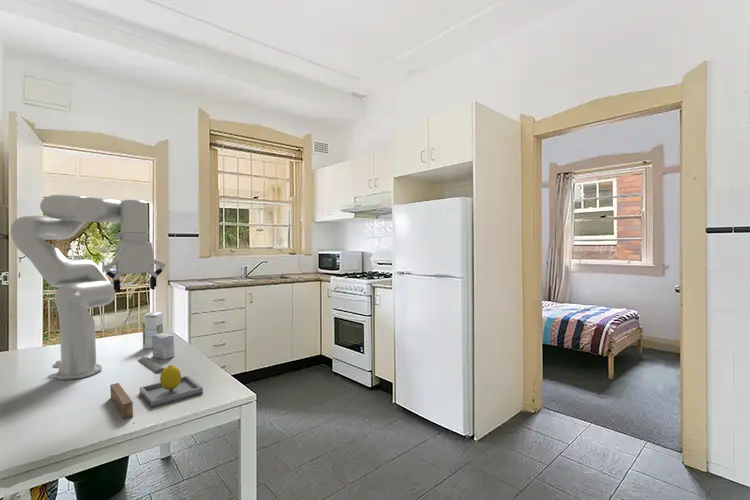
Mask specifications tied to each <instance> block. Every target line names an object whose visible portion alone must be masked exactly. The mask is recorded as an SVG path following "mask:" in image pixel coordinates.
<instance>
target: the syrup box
mask: <svg viewBox="0 0 750 500" xmlns="http://www.w3.org/2000/svg"><path fill="white" fill-rule="evenodd" d="M160 333H164V312H162V311H161V312H160V311H150V312H148V313H145V314H142V348H143V349H153V342H152V336H153V335H156V334H160Z"/></svg>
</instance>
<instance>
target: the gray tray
mask: <svg viewBox="0 0 750 500" xmlns="http://www.w3.org/2000/svg"><path fill="white" fill-rule="evenodd" d="M139 394H140V396H141V397H142V398H143V399H144V400H145V402H146V403H148V405H149V406H150V407H151V409H153V408H157V407H160V406H163V405H167V404H171V403H173V402H177V401H181V400H184V399H185V400H186V399H188V398H191V397H195V396H198V395H201V394H204V390H203V386H202V385H201V384H200V383H198V382H197V381H195V380H194V379H192V378H191V376H189V375H184V376H181V381H180V384H179V385H178V386H177V387H176V388H174V389H173V390H172V391H169V390H166V389H164V388H163V387H162V386H161V383H160V381H159V382H156V383H151V384H147V385H145V386H140V387H139Z"/></svg>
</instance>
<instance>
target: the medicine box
mask: <svg viewBox="0 0 750 500" xmlns="http://www.w3.org/2000/svg"><path fill="white" fill-rule="evenodd" d="M174 337H175V336H174V335H173V334H169V333H164V332H163V333H160V334H156V335H153V336H152V342H153V348H152V356H153V357H154V358H158V359H160V360H168V359H171V358H174V357H175V343H174V341H175V339H174Z"/></svg>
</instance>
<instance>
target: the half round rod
mask: <svg viewBox="0 0 750 500" xmlns="http://www.w3.org/2000/svg"><path fill="white" fill-rule="evenodd" d="M137 362H138V363H139V364H141V365H142V366H144V367H145V368H146V367H147V368H146V369H148V370H149V371H151V372H152V373H153V372H154V374H158V372H159V373H162V371H163V370H164V369H165V368H166V367H163V366H162V365H160V364H159V363H157V362H155V361H154V360H153V359H151V358H150V357H148V356H141V357H139V358H138V360H137Z"/></svg>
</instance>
